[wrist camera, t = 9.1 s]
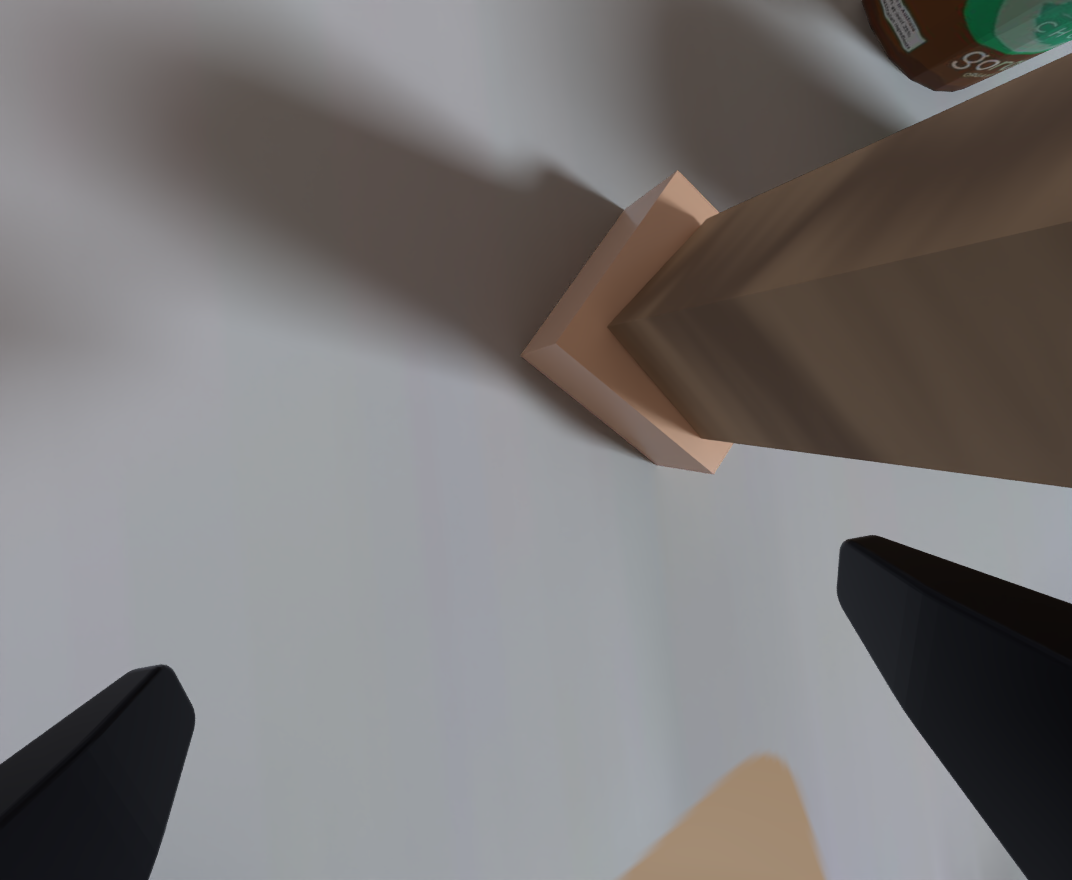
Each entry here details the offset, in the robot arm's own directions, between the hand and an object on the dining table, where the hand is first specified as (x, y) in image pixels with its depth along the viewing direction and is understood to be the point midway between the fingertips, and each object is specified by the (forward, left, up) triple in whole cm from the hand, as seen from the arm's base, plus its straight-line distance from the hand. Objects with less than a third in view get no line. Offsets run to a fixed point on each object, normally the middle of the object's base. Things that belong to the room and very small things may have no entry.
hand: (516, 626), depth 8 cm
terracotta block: (+9, -5, -13) cm, 17 cm away
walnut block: (+9, -5, -9) cm, 14 cm away
